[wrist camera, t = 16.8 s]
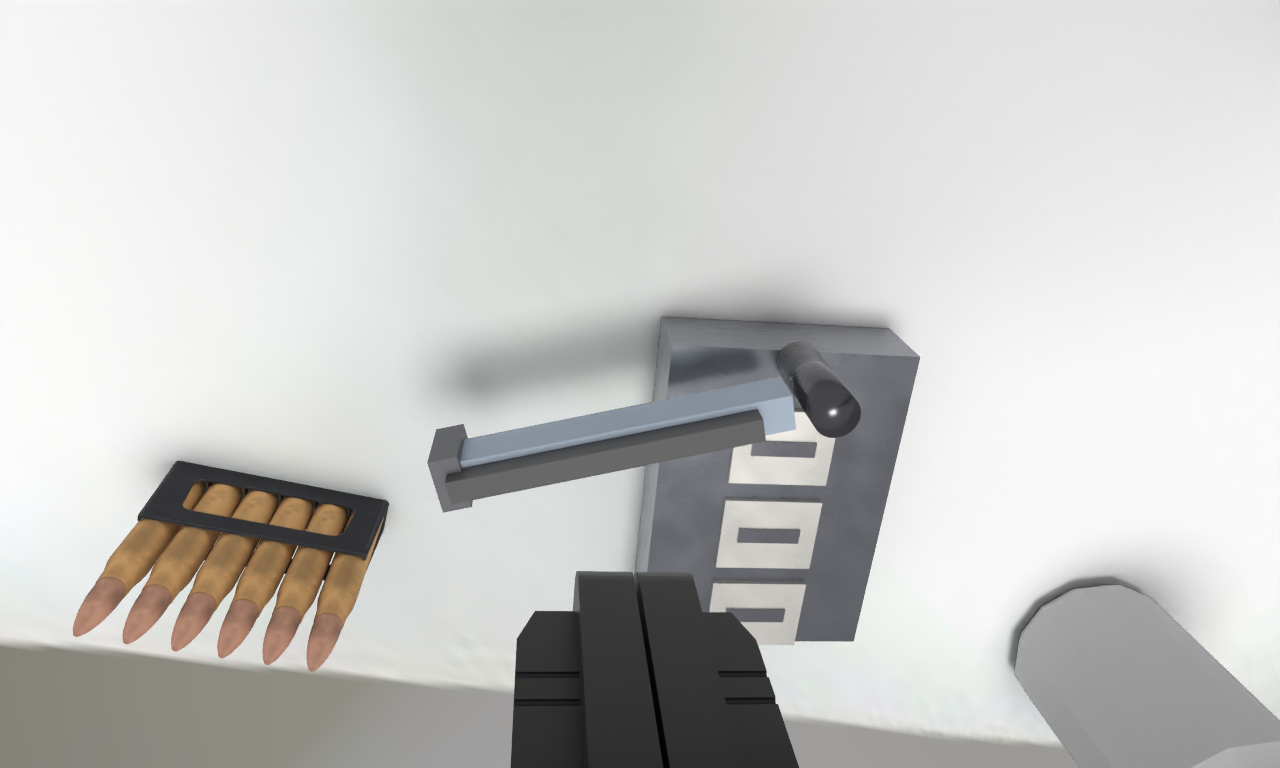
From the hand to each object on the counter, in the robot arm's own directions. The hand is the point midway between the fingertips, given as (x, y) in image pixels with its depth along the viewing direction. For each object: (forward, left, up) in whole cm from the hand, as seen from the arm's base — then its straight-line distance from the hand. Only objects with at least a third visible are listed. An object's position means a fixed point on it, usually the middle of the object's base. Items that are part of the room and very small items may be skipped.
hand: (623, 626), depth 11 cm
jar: (-34, +26, -31) cm, 53 cm away
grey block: (-11, +15, -31) cm, 36 cm away
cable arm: (-2, +9, -25) cm, 26 cm away
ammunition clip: (+14, +17, -31) cm, 38 cm away
